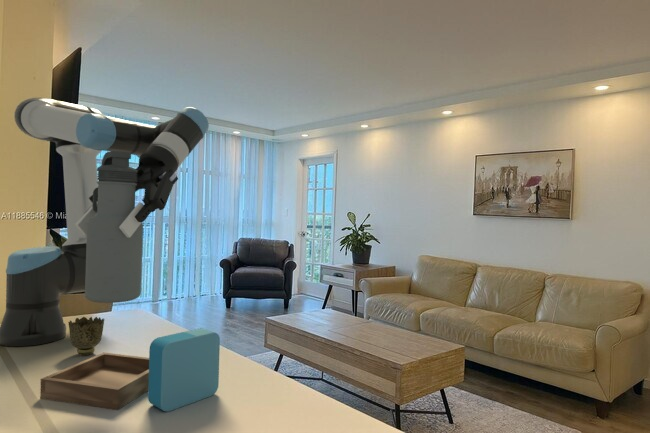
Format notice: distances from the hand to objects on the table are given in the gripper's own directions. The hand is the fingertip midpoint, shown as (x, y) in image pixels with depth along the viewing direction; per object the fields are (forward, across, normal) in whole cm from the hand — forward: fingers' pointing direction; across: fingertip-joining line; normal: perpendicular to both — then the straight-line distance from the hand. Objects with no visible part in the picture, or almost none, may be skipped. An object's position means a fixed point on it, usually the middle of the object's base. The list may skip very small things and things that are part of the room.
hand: (101, 231), depth 83 cm
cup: (+11, +21, -32) cm, 40 cm away
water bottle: (+7, 0, -12) cm, 14 cm away
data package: (+18, -16, -25) cm, 35 cm away
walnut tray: (+19, 0, -23) cm, 30 cm away
